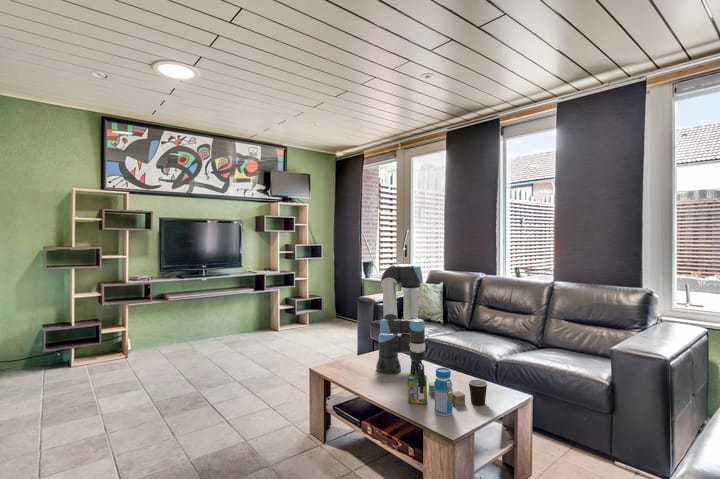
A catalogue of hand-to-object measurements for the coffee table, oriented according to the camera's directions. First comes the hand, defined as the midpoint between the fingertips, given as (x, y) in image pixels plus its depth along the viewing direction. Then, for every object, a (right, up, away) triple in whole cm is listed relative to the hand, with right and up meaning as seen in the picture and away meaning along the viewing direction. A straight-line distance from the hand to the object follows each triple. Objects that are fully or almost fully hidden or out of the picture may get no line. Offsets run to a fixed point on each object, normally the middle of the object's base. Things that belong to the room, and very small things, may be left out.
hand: (417, 394), depth 193 cm
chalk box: (0, -3, 0) cm, 3 cm away
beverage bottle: (+10, -3, -13) cm, 17 cm away
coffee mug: (+30, -3, -3) cm, 30 cm away
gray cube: (+10, -3, +9) cm, 13 cm away
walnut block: (+19, -3, -4) cm, 20 cm away
